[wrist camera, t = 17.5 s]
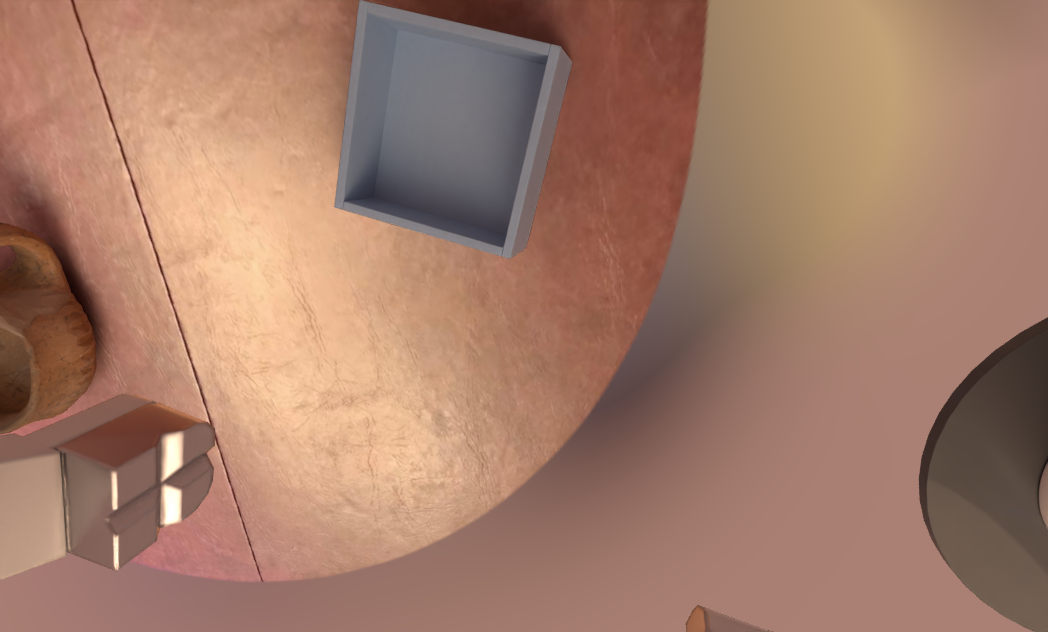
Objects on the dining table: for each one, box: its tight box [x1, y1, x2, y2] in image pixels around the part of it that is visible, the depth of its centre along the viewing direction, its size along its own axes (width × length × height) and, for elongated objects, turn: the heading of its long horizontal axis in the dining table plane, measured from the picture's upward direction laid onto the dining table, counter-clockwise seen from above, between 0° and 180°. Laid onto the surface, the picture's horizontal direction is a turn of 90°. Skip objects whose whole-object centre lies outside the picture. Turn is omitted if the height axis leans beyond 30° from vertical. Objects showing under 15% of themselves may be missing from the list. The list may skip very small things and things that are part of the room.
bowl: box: [0, 223, 96, 434], centre depth 44 cm, size 18×14×10 cm
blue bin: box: [334, 0, 572, 259], centre depth 33 cm, size 12×12×5 cm
